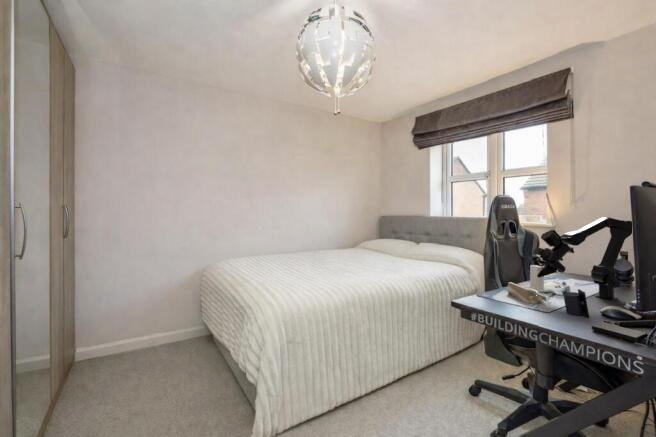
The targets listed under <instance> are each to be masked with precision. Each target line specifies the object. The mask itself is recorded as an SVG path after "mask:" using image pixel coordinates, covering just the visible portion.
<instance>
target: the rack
mask: <svg viewBox="0 0 656 437" xmlns="http://www.w3.org/2000/svg"><path fill="white" fill-rule="evenodd" d="M526 288H527V287H525V288H524V286H521V285H519V284H516V283H514V282H512V281H511V282H510V281H508V283H507V293H510V294H512V295H513V297H514V296H515V297H514V298H516V297H517V298H516V299H518V298H519V300H520V299H521V300H520V301H522V300H523V302H524V301H525V302H524V303H526V302H527V304H533V303H532V302H543V301H542V300H544V299H545V300H544V301H547V296H545V295H542V294H540V293H537V292H536V295H537V296H531V290H532V289H530V288H528V289H526ZM529 289H530V290H529ZM510 294H509V295H510ZM512 295H511V296H512ZM542 298H543V299H542Z"/></svg>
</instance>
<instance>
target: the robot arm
mask: <svg viewBox="0 0 656 437" xmlns="http://www.w3.org/2000/svg"><path fill="white" fill-rule="evenodd" d="M632 222H633V221H632V220H624V219H623V220H621V219H616V218H612V217H609V216H608V217H606V216H604V217H603V216H602V217H599V218H597V220H595V221H592V222H590V223H589V224H587V225H584V226H583V227H582V228H579V229H577V230H572V231H567V232H564V233H563V234H562V235H560V234H558V232H557V231H556V229H550V230H548V231H546V232H544V233H542V234H541V235H540V239H541V240H542V241H543V242H545V243H546V244H547V245H548V248H547V247H545V248H542V247H537V246H535V248H534V250H533V251H532V254H534V255H531V256H529V258H528V259H529V260H530V261H531V262H532V265H538V266H542V267H544V268H543V269H542V270H541V271H540V273H539V274H538V275H537V277H542V276H544V277H545V276H549V275H551V274H557V273H561V274H563V273H565V272H566V267H565V266H564V265H563V263H562V262H563V261H564V259H563V258H564V257H565V256H566V255H567V254H568V253H569V254H574V253H575V251H574V247H571V246H576V247H577V246H580V245H581V244H583V243H584V242H585V241H586V239H587V238H588V237H589V236H590V237H591V235H593V234H595V233H598V232H599V231H602V230H603V229H605V228H609V233H610V239H609V241H608V244H607V246H606V249H605V252H604V254H603V256H602V259H601V262H600V263H599V264H598V265H596V264H594V265H593V266H592V270H591V271H590V277H591V279H592V280H593V283H594V284H597V285H598V294H597V295H595V298H600V299H605V300H610V301H613V300H617V299H619V297H618V296H616V295H615V294H616V293H615V292H616V290H615V288H617V289H618V288H621V285H622V283H621V282H620V281H619V280H618V279H617V278H616V270H615V265H616V262H617V260H618V257H619V255H620V253H621V250H622V247H623V246H624V243H625V241H626V239H628V238H629V237H630V236H632V234H633V233H632ZM549 247H552V248H551V249H550V248H549ZM535 254H536V255H535ZM561 261H562V262H561ZM529 275H530V272H529Z"/></svg>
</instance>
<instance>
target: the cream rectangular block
mask: <svg viewBox="0 0 656 437" xmlns="http://www.w3.org/2000/svg"><path fill="white" fill-rule="evenodd" d="M529 267H530V269H529V270H530V271H529V273H530V274H529V280H530V281H529V283H530V284H529V289H531V290H533V291H536V292H538V291H539V292H541V291H542V292H543V291H545V290H544V289H545V288H544V287H545V276H542V277H537V275H538V274H539V273H540V271H541V270H542V269H543V268H544V266H538V265H533V264H530V266H529Z"/></svg>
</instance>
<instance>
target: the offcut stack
mask: <svg viewBox="0 0 656 437" xmlns="http://www.w3.org/2000/svg"><path fill="white" fill-rule="evenodd" d="M523 287H524V286H523ZM524 288H526V289H529V290H531V296H536V293H537V291H536V290H534V289H531V288H527V287H524Z"/></svg>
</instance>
